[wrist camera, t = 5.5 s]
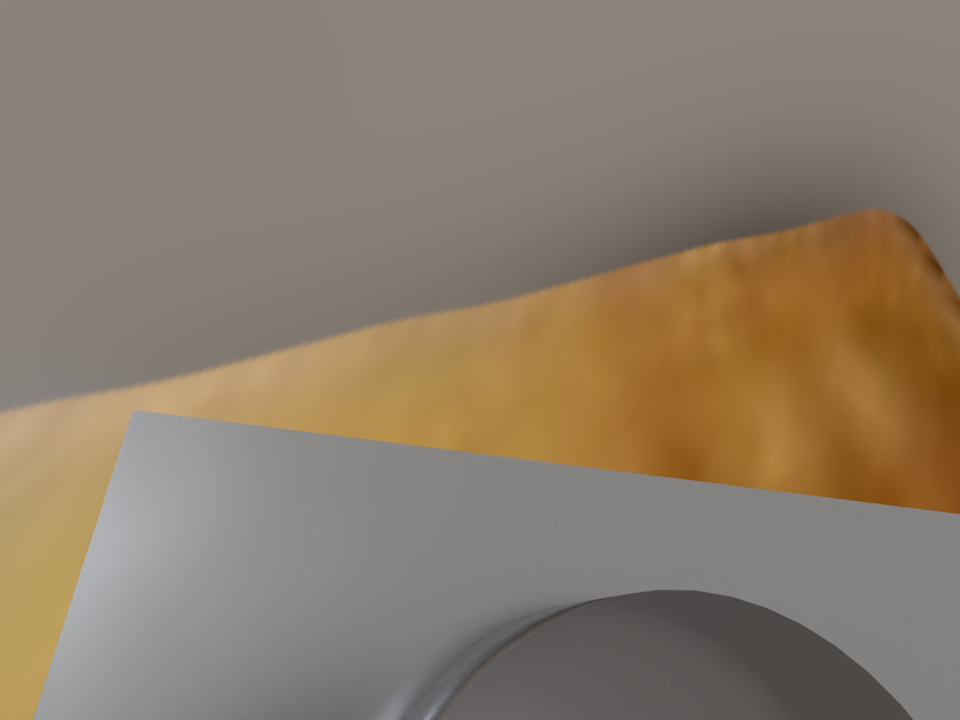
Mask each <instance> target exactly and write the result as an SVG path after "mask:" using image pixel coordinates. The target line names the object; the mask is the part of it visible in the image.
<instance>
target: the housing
mask: <svg viewBox="0 0 960 720" xmlns="http://www.w3.org/2000/svg"><path fill="white" fill-rule="evenodd" d="M33 720H960V514H953V513H945V512H937V511H929V510H921V509H914V508H906V507H898V506H890V505H882V504H874V503H866V502H858V501H850V500H842V499H834V498H826V497H818V496H810V495H803V494H795V493H787V492H779V491H771V490H763V489H755V488H747V487H739V486H731V485H723V484H715V483H707V482H699V481H692V480H684V479H676V478H668V477H660V476H652V475H644V474H636V473H628V472H620V471H612V470H604V469H596V468H588V467H580V466H573V465H565V464H557V463H549V462H541V461H533V460H525V459H517V458H509V457H501V456H493V455H485V454H477V453H469V452H462V451H454V450H446V449H438V448H430V447H422V446H414V445H406V444H398V443H390V442H382V441H374V440H366V439H358V438H351V437H343V436H335V435H327V434H319V433H311V432H303V431H295V430H287V429H279V428H271V427H263V426H255V425H247V424H240V423H232V422H224V421H216V420H208V419H200V418H192V417H184V416H176V415H168V414H160V413H152V412H144V411H136V410H133V412H132V415H131V418H130V421H129V424H128V427H127V430H126V433H125V437H124V440H123V443H122V446H121V449H120V452H119V455H118V458H117V461H116V464H115V468H114V471H113V474H112V477H111V480H110V483H109V486H108V489H107V492H106V495H105V499H104V502H103V505H102V508H101V511H100V514H99V517H98V520H97V523H96V526H95V530H94V533H93V536H92V539H91V542H90V545H89V548H88V551H87V554H86V557H85V561H84V564H83V567H82V570H81V573H80V576H79V579H78V582H77V585H76V589H75V592H74V595H73V598H72V601H71V604H70V607H69V610H68V613H67V616H66V620H65V623H64V626H63V629H62V632H61V635H60V638H59V641H58V644H57V647H56V651H55V654H54V657H53V660H52V663H51V666H50V669H49V672H48V675H47V678H46V682H45V685H44V688H43V691H42V694H41V697H40V700H39V703H38V706H37V709H36V713H35V716H34V719H33Z"/></svg>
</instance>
